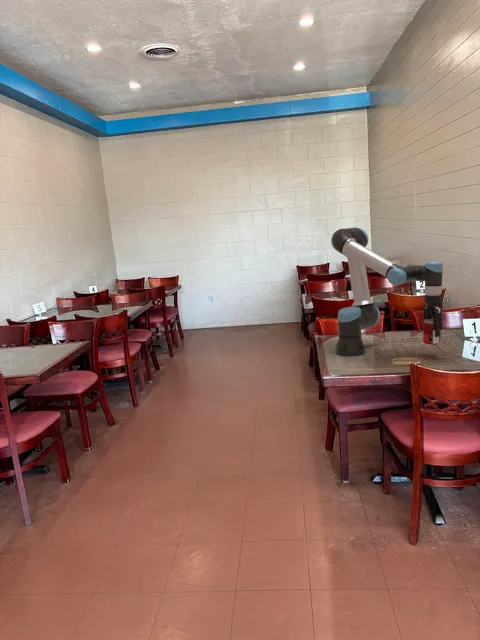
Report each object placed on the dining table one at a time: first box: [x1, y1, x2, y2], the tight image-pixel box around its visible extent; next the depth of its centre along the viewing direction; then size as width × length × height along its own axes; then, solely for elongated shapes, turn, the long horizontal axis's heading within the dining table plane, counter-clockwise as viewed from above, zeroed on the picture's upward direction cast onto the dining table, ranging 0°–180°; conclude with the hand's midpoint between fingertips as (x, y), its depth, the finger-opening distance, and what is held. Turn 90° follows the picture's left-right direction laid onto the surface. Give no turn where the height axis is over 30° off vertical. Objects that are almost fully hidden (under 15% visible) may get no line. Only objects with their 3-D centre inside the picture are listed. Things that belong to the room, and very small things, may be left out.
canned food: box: [422, 319, 442, 346], centre depth 229 cm, size 8×8×11 cm
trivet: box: [391, 356, 422, 367], centre depth 226 cm, size 13×13×1 cm
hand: (431, 341), depth 230 cm, fingers closed on canned food, 8 cm apart
